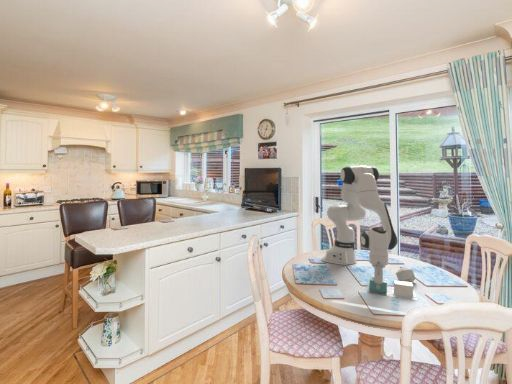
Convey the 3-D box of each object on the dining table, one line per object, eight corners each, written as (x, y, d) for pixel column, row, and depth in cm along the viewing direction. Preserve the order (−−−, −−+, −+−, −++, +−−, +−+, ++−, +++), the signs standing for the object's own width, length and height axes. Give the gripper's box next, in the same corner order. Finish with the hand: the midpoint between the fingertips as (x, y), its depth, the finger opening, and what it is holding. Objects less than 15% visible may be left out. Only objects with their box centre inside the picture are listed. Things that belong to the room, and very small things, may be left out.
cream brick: (394, 293, 135) (394, 283, 135) (393, 289, 140) (394, 280, 139) (413, 296, 132) (413, 286, 131) (411, 292, 136) (412, 282, 136)
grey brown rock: (402, 288, 145) (416, 274, 143) (389, 275, 152) (402, 262, 149) (408, 289, 151) (421, 276, 148) (395, 276, 157) (408, 264, 155)
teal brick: (369, 289, 140) (369, 280, 139) (369, 286, 144) (369, 276, 144) (386, 292, 136) (386, 282, 136) (386, 288, 141) (386, 279, 141)
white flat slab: (367, 294, 136) (367, 292, 136) (367, 284, 148) (367, 282, 148) (417, 302, 128) (417, 300, 127) (414, 291, 139) (414, 289, 139)
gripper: (386, 266, 128) (385, 295, 129) (384, 254, 147) (384, 279, 148) (371, 265, 131) (371, 293, 132) (372, 253, 150) (371, 278, 151)
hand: (377, 285), depth 140 cm, fingers closed on teal brick, 5 cm apart
